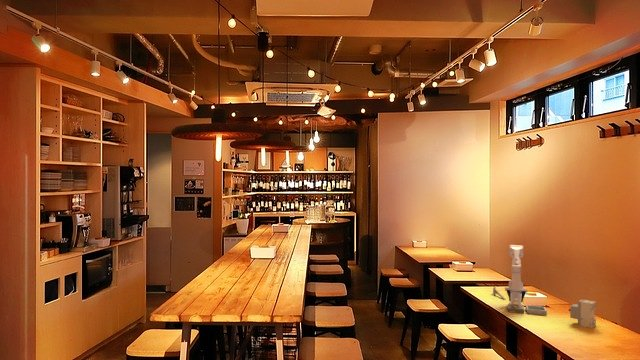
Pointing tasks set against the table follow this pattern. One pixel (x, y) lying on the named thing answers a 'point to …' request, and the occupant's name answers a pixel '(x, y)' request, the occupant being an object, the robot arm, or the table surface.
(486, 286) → the table surface
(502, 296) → the caliper
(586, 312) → the circuit breaker
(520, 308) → the fuse holder
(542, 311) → the parts tray
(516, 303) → the fuse
